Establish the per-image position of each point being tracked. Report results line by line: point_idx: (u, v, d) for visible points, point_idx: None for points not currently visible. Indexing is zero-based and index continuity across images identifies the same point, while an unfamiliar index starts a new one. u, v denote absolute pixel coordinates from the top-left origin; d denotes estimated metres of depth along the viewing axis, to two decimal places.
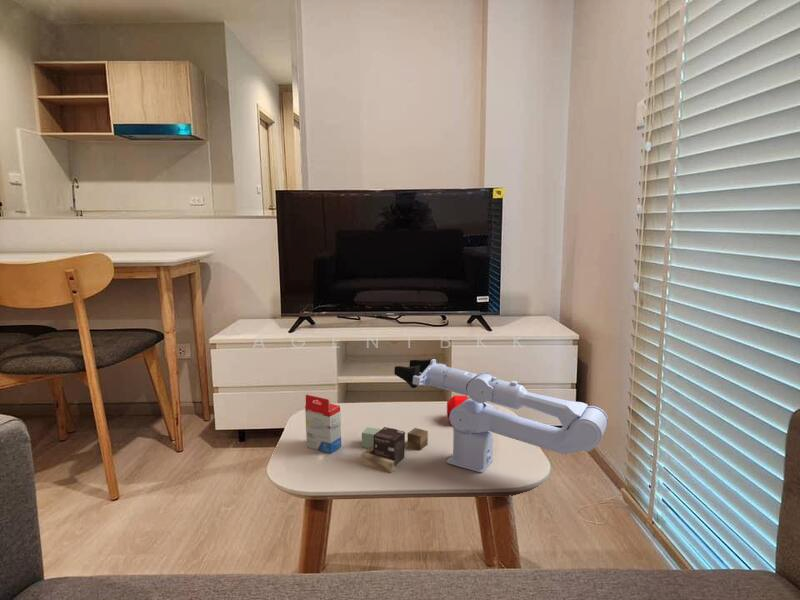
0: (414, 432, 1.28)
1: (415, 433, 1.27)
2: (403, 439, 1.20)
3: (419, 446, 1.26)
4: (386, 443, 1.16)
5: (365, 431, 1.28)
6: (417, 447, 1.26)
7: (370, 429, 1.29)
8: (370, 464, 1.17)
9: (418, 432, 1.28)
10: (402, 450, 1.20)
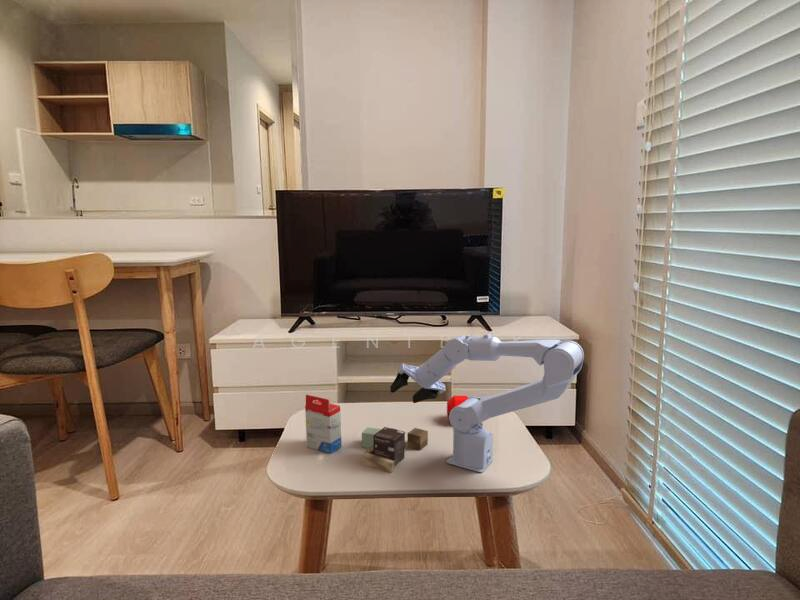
0: (414, 432, 1.28)
1: (415, 433, 1.27)
2: (403, 439, 1.20)
3: (419, 446, 1.26)
4: (386, 443, 1.16)
5: (365, 431, 1.28)
6: (417, 447, 1.26)
7: (370, 429, 1.29)
8: (370, 464, 1.17)
9: (418, 432, 1.28)
10: (402, 450, 1.20)
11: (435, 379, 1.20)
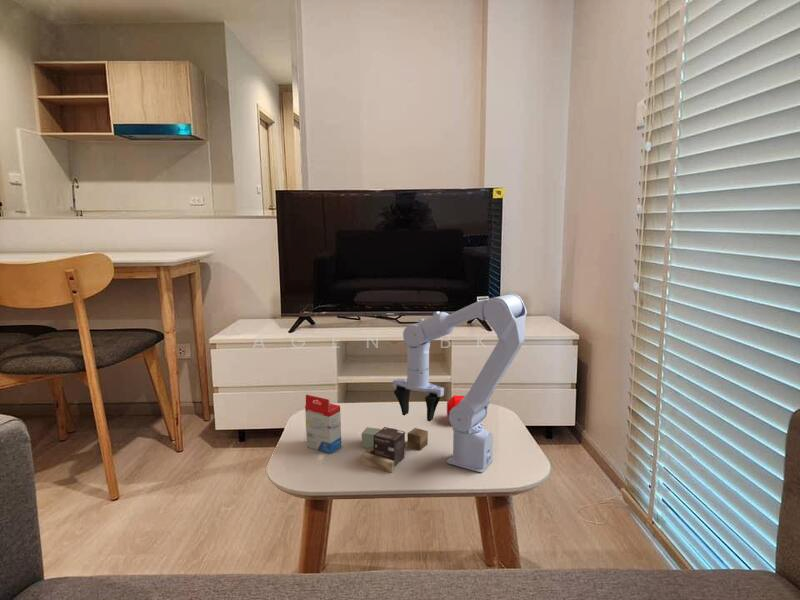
0: (414, 432, 1.28)
1: (415, 433, 1.27)
2: (403, 439, 1.20)
3: (419, 446, 1.26)
4: (386, 443, 1.16)
5: (365, 431, 1.28)
6: (417, 447, 1.26)
7: (370, 429, 1.29)
8: (370, 464, 1.17)
9: (418, 432, 1.28)
10: (402, 450, 1.20)
11: (414, 374, 1.23)
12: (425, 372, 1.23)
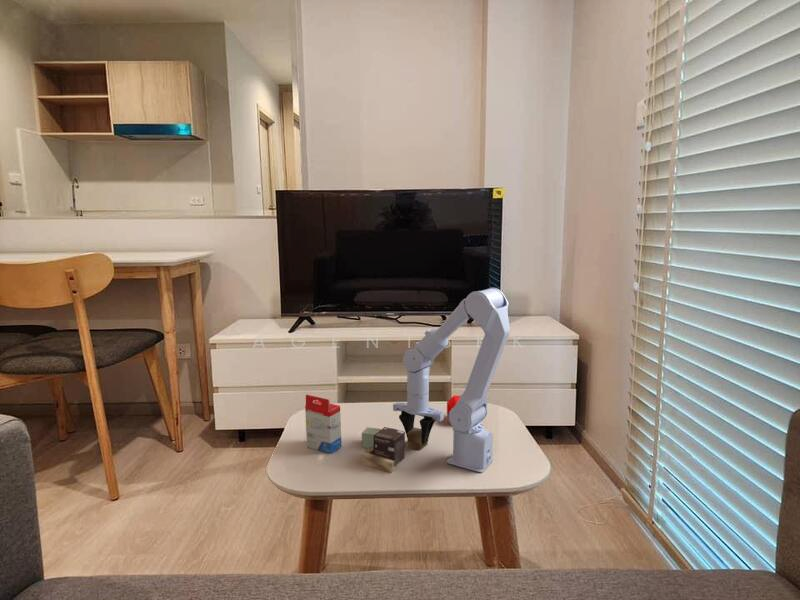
0: (414, 432, 1.27)
1: (415, 433, 1.27)
2: (403, 439, 1.20)
3: (419, 446, 1.26)
4: (386, 443, 1.16)
5: (365, 431, 1.28)
6: (417, 447, 1.26)
7: (370, 429, 1.29)
8: (370, 464, 1.17)
9: (418, 431, 1.28)
10: (402, 450, 1.20)
11: (414, 399, 1.24)
12: (425, 397, 1.24)
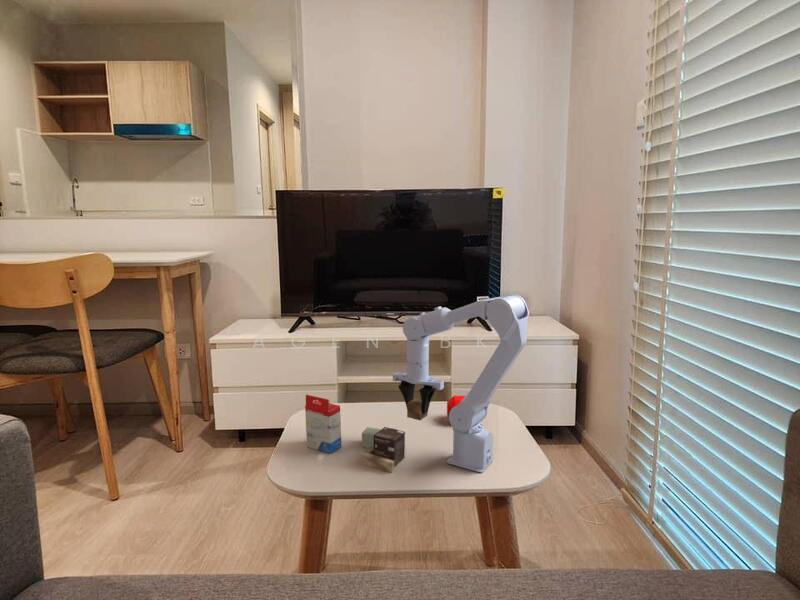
0: (414, 402, 1.26)
1: (415, 403, 1.26)
2: (403, 439, 1.20)
3: (419, 416, 1.24)
4: (386, 443, 1.16)
5: (365, 431, 1.28)
6: (417, 417, 1.25)
7: (370, 429, 1.29)
8: (370, 464, 1.17)
9: (418, 402, 1.26)
10: (402, 450, 1.20)
11: (414, 367, 1.23)
12: (425, 365, 1.23)
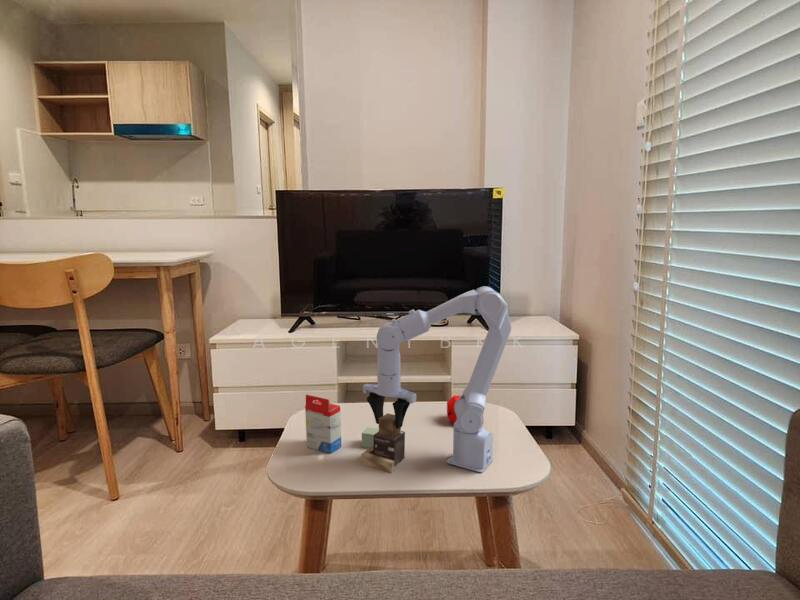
0: (386, 418, 1.19)
1: (387, 418, 1.18)
2: (403, 439, 1.20)
3: (391, 432, 1.17)
4: (386, 443, 1.16)
5: (365, 431, 1.28)
6: (389, 433, 1.17)
7: (370, 429, 1.29)
8: (370, 464, 1.17)
9: (390, 417, 1.19)
10: (402, 450, 1.20)
11: (384, 379, 1.14)
12: (396, 377, 1.15)
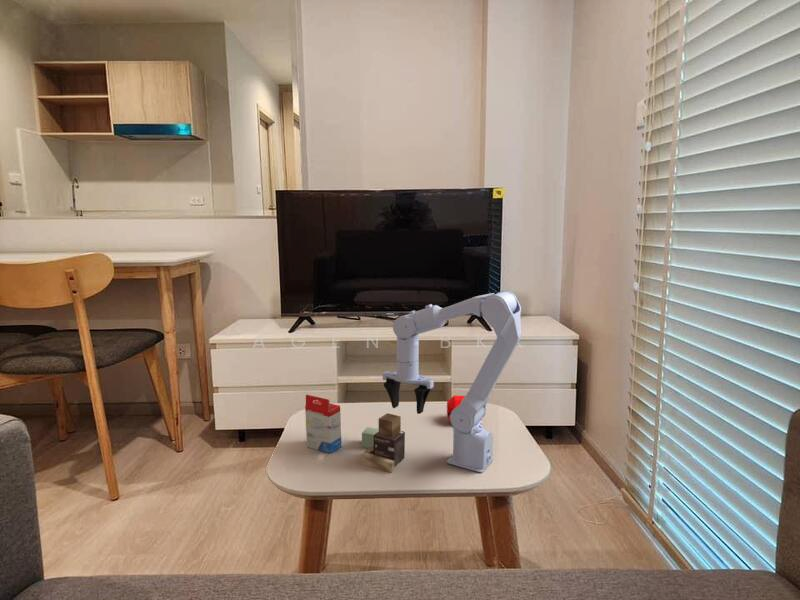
0: (386, 418, 1.18)
1: (387, 418, 1.18)
2: (403, 439, 1.20)
3: (391, 432, 1.17)
4: (386, 443, 1.16)
5: (365, 431, 1.28)
6: (389, 433, 1.17)
7: (370, 429, 1.29)
8: (370, 464, 1.17)
9: (390, 417, 1.19)
10: (402, 450, 1.20)
11: (403, 366, 1.22)
12: (415, 364, 1.22)
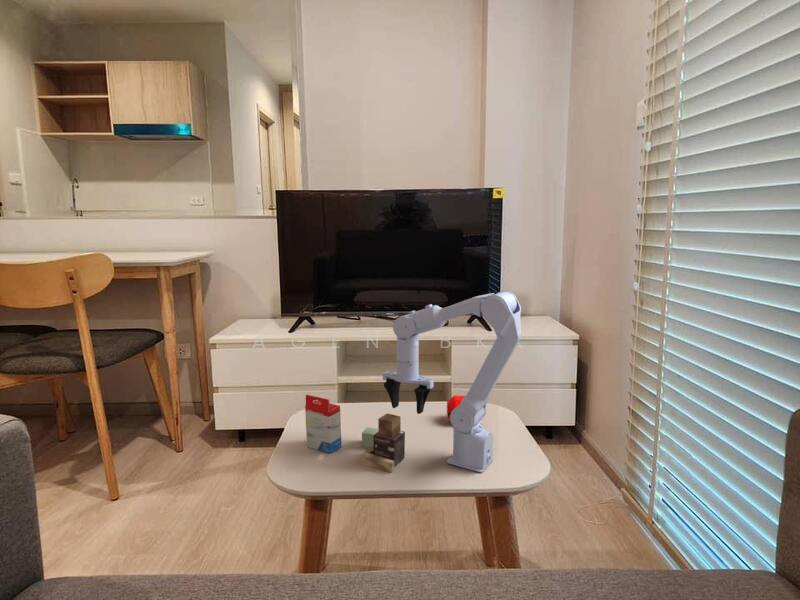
0: (385, 418, 1.18)
1: (386, 418, 1.18)
2: (403, 439, 1.20)
3: (391, 432, 1.17)
4: (386, 443, 1.16)
5: (365, 431, 1.28)
6: (389, 433, 1.17)
7: (370, 429, 1.29)
8: (370, 464, 1.17)
9: (390, 417, 1.19)
10: (402, 450, 1.20)
11: (403, 366, 1.22)
12: (415, 364, 1.22)
